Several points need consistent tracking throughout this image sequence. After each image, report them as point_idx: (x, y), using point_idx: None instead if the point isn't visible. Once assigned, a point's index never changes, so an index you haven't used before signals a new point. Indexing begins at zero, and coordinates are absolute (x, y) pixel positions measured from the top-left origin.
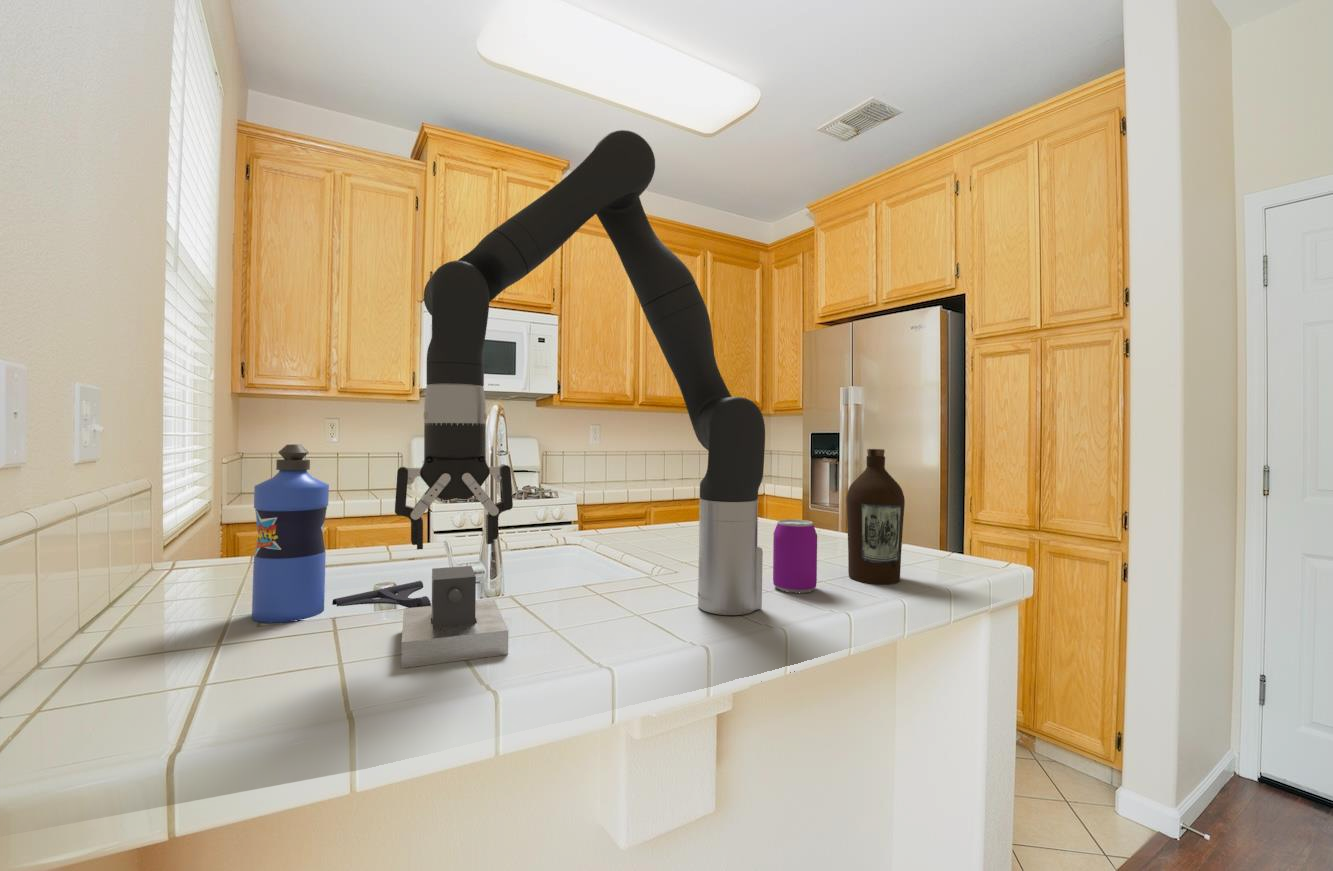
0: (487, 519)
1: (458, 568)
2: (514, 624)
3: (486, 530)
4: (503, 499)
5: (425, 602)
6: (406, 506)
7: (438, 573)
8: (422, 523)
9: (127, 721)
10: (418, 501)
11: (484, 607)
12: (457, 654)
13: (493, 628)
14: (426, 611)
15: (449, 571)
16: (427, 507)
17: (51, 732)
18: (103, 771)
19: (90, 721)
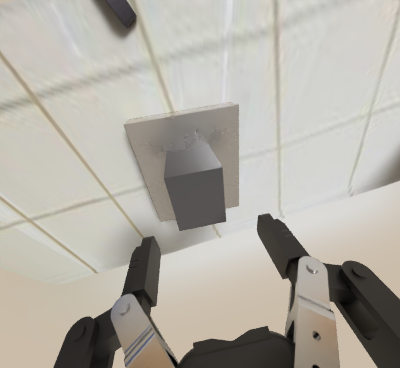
0: (279, 269)
1: (203, 182)
2: (249, 121)
3: (268, 236)
4: (344, 316)
5: (125, 15)
6: (109, 352)
7: (179, 206)
8: (156, 299)
9: (35, 253)
10: (124, 349)
11: (224, 138)
12: None
13: (228, 201)
14: (158, 143)
15: (192, 197)
16: (163, 340)
17: (4, 260)
18: (77, 278)
19: (11, 253)
